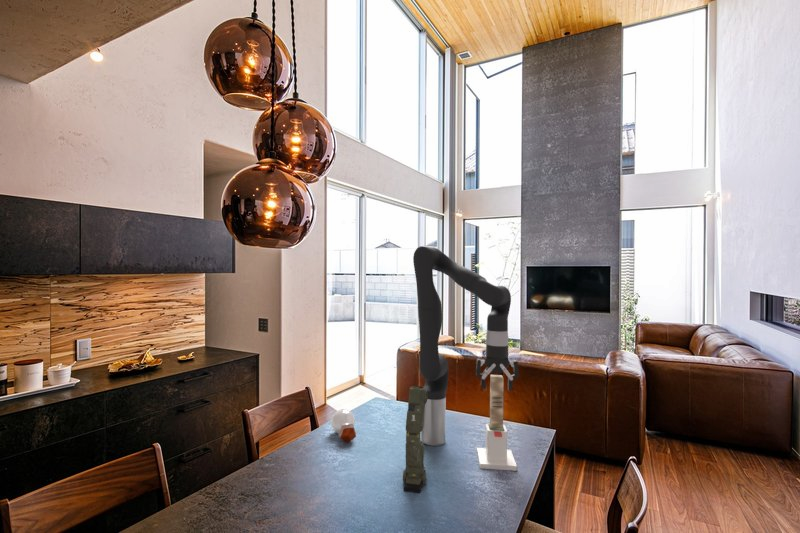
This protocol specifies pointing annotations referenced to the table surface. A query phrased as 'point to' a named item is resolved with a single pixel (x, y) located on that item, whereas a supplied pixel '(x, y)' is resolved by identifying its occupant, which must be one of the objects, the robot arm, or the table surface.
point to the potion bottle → (344, 425)
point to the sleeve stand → (496, 451)
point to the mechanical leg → (415, 441)
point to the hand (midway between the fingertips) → (496, 389)
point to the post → (496, 402)
